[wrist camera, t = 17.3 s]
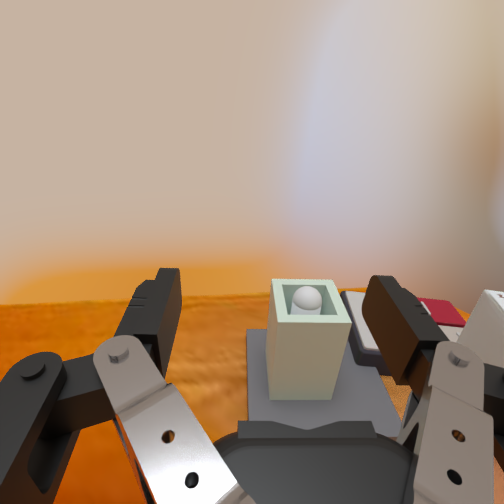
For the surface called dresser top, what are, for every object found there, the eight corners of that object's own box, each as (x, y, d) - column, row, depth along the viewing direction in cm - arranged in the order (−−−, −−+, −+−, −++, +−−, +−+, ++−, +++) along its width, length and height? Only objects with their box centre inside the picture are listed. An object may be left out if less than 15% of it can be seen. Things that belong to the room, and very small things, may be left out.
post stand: (248, 446, 26) (254, 346, 20) (246, 336, 38) (249, 251, 31) (404, 444, 27) (455, 346, 21) (356, 336, 38) (380, 253, 32)
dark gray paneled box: (505, 363, 31) (362, 347, 31) (486, 389, 33) (352, 374, 34) (451, 297, 41) (341, 285, 41) (438, 321, 43) (334, 309, 43)
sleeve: (269, 400, 29) (277, 322, 24) (265, 351, 34) (271, 278, 29) (331, 399, 29) (352, 322, 24) (317, 351, 34) (332, 279, 29)
